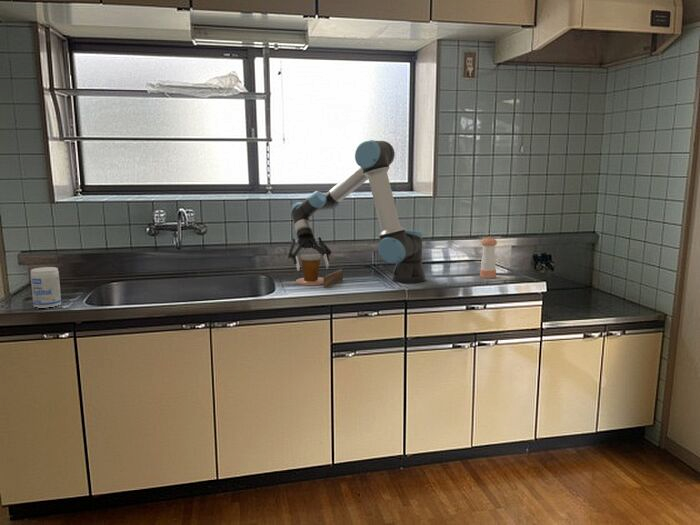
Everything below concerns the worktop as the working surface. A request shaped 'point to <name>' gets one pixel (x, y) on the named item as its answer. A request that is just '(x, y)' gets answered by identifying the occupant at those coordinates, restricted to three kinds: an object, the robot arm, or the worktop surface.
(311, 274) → the disposable coffee cup
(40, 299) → the supplement tub
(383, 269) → the worktop surface
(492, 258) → the pepper shaker
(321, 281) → the terracotta coaster
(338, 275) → the walnut wall
